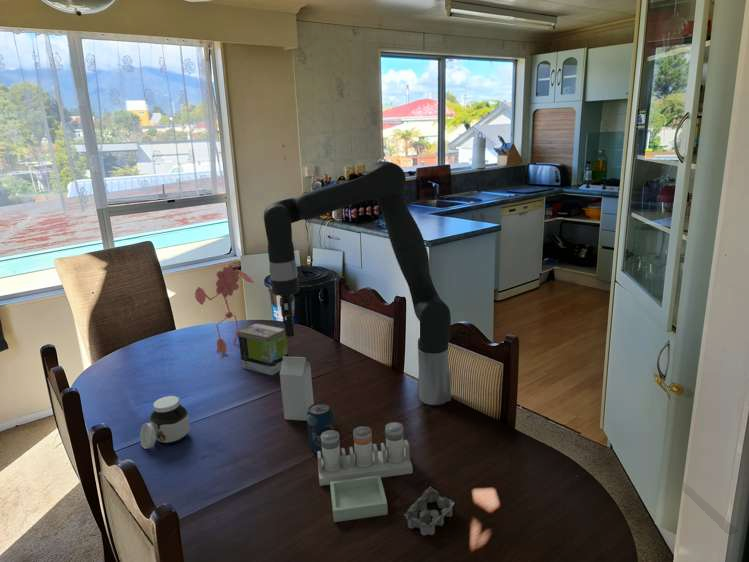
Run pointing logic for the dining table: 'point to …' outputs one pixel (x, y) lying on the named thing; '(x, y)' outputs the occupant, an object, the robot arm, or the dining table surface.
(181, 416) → the spread jar
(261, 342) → the tea box
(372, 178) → the robot arm
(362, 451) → the marked fuse
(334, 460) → the cylinder
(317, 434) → the soda can
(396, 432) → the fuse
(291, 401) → the milk carton
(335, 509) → the tray
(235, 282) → the figurine
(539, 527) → the dining table surface
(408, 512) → the egg carton
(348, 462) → the clip rail
